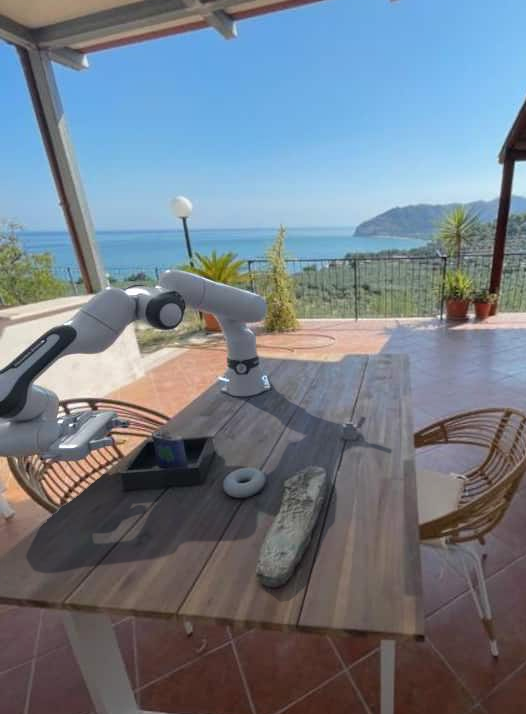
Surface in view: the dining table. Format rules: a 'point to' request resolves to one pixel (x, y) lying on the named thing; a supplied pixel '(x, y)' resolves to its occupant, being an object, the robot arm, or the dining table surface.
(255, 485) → the donut
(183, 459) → the flask
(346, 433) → the lighter
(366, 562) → the dining table surface
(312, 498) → the elongated rock
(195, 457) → the tray
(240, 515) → the dining table surface
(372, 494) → the dining table surface
